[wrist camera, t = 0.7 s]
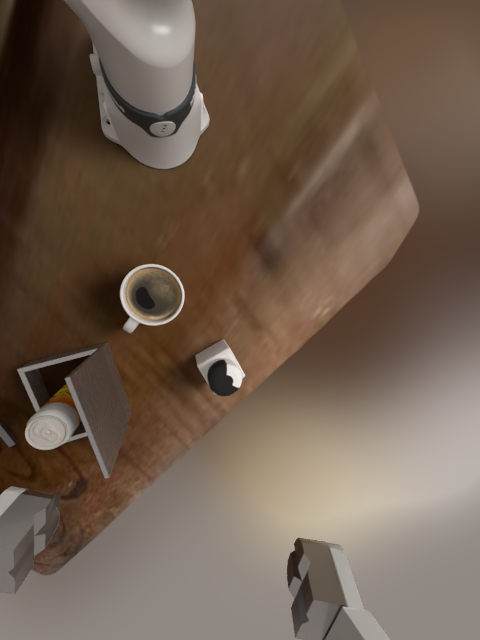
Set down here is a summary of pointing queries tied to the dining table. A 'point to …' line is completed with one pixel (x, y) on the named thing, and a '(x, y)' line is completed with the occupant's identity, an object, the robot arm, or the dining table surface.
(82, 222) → the dining table surface
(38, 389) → the case
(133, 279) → the mug
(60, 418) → the beer can
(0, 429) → the bar
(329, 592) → the robot arm
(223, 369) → the medicine bottle
